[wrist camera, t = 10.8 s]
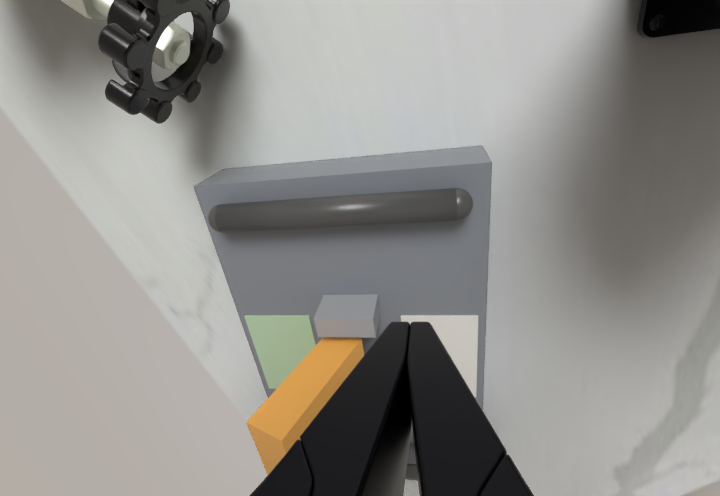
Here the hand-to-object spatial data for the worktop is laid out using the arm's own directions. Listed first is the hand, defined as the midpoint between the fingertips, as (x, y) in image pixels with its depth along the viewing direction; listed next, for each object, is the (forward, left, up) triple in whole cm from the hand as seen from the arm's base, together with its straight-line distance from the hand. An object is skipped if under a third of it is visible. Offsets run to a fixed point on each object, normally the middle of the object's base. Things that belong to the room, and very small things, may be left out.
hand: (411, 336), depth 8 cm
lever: (+4, +10, -9) cm, 14 cm away
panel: (+4, +10, -12) cm, 16 cm away
